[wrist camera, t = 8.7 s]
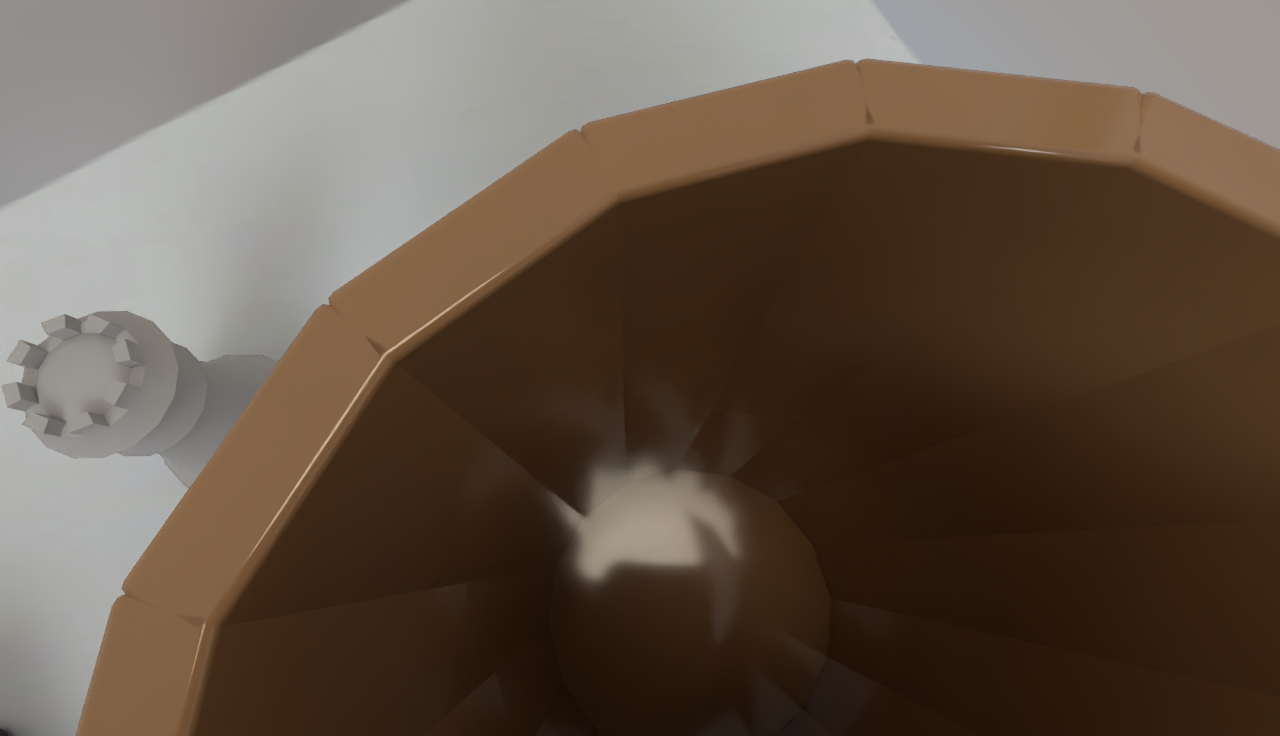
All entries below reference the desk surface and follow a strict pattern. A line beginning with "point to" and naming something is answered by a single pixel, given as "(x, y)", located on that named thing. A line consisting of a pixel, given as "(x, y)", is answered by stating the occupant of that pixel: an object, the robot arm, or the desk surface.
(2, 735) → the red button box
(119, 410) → the rook chess piece
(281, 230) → the desk surface
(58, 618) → the desk surface
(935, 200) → the wooden cup
